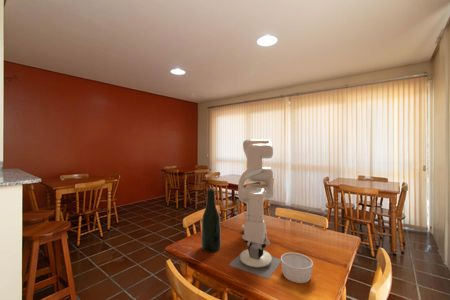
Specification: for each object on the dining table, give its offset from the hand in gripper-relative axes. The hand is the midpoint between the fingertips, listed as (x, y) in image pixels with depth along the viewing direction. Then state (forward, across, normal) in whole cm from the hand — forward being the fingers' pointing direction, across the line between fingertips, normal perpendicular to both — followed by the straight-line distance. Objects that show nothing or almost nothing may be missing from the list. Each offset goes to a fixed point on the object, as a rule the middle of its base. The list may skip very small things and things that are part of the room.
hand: (255, 254), depth 103 cm
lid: (+2, 0, 0) cm, 2 cm away
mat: (+4, 0, -1) cm, 4 cm away
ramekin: (+4, +19, -1) cm, 20 cm away
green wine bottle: (+4, -27, 0) cm, 27 cm away
